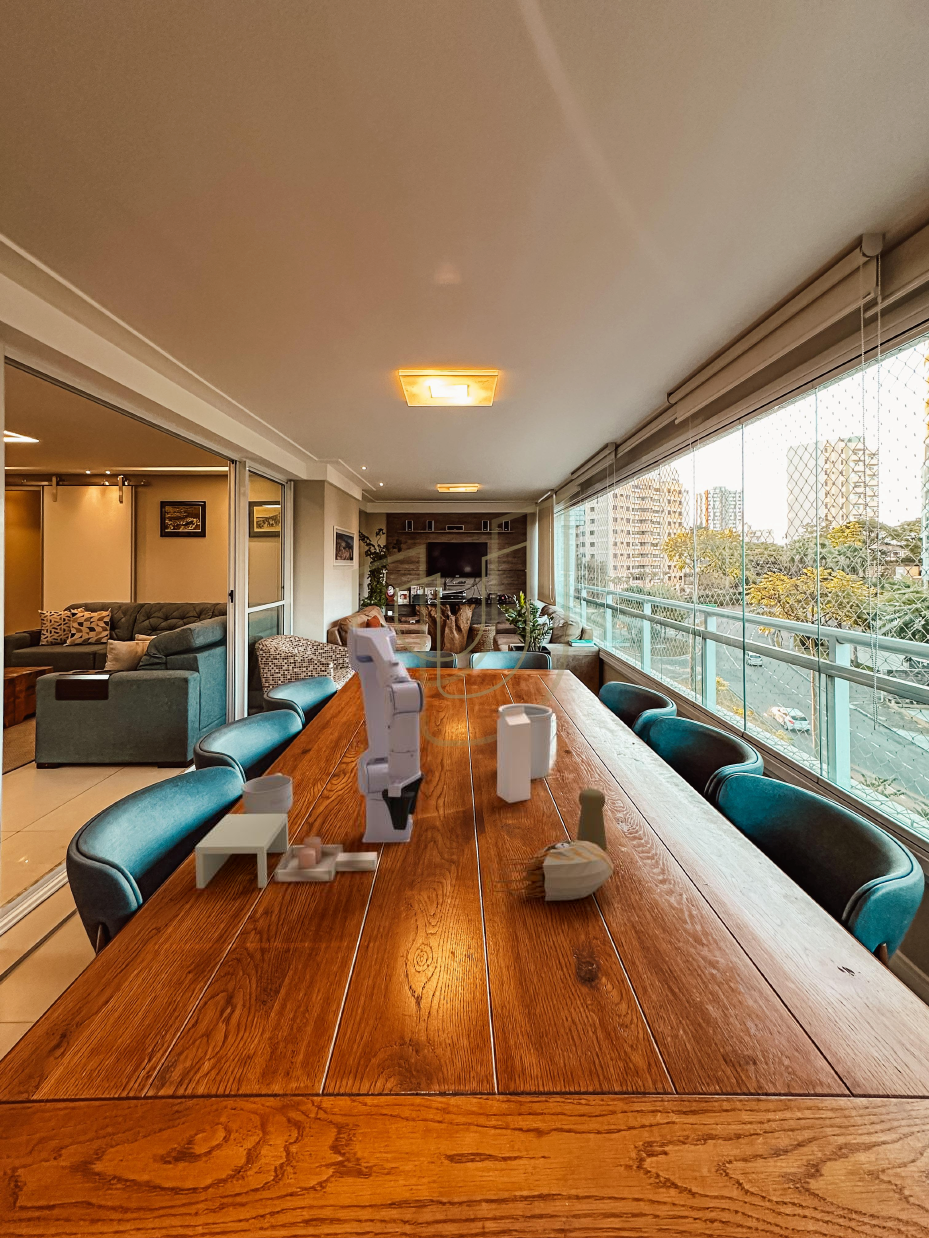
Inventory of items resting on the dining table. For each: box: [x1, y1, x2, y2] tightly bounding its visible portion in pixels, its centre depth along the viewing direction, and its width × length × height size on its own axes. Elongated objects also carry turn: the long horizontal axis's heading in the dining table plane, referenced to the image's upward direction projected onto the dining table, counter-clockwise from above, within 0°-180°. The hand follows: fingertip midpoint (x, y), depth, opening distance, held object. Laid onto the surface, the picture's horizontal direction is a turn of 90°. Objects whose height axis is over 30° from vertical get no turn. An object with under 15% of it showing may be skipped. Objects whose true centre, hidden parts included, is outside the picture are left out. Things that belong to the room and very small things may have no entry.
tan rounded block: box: [298, 848, 316, 869], centre depth 105 cm, size 3×3×4 cm
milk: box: [496, 707, 531, 804], centre depth 142 cm, size 6×6×22 cm
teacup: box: [240, 772, 294, 814], centre depth 133 cm, size 14×11×8 cm
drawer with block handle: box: [273, 844, 378, 883], centre depth 108 cm, size 17×10×2 cm, turn 91°
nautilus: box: [491, 839, 615, 902], centre depth 100 cm, size 8×22×15 cm
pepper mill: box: [576, 788, 608, 851], centre depth 117 cm, size 6×6×11 cm
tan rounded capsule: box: [304, 836, 322, 864], centre depth 110 cm, size 3×3×4 cm
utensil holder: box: [497, 703, 553, 780], centre depth 162 cm, size 15×15×18 cm
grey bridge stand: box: [194, 813, 289, 889], centre depth 107 cm, size 12×14×8 cm
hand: (404, 821), depth 107 cm, fingers open, 6 cm apart
